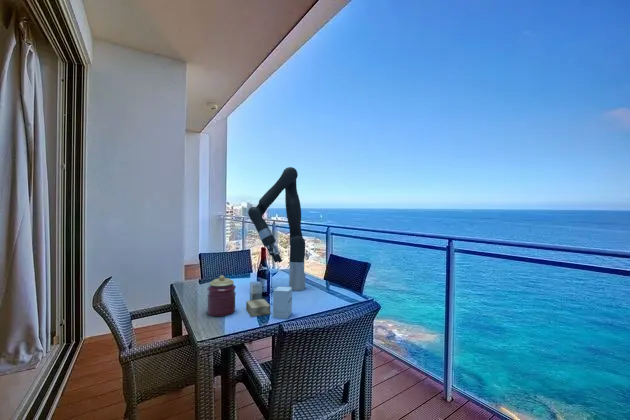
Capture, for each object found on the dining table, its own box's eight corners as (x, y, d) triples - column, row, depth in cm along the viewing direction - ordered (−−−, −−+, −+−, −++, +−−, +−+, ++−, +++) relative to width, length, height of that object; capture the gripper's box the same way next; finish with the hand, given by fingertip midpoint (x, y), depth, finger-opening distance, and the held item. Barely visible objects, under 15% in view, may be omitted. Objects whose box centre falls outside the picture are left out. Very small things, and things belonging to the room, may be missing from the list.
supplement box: (287, 318, 134) (288, 291, 134) (272, 317, 136) (272, 290, 136) (292, 313, 141) (292, 287, 141) (277, 311, 143) (277, 285, 143)
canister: (208, 318, 133) (208, 279, 133) (206, 309, 145) (206, 273, 145) (237, 314, 138) (237, 277, 138) (233, 305, 150) (233, 271, 150)
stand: (263, 306, 150) (264, 298, 150) (270, 314, 140) (270, 305, 140) (246, 309, 146) (246, 301, 146) (251, 316, 136) (251, 308, 136)
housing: (258, 299, 161) (259, 281, 161) (261, 302, 156) (261, 283, 156) (249, 300, 159) (250, 282, 159) (252, 303, 154) (252, 284, 153)
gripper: (269, 233, 167) (281, 258, 164) (275, 235, 181) (287, 258, 178) (257, 239, 167) (269, 265, 164) (264, 241, 181) (276, 264, 178)
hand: (278, 261), depth 171 cm, fingers open, 8 cm apart
